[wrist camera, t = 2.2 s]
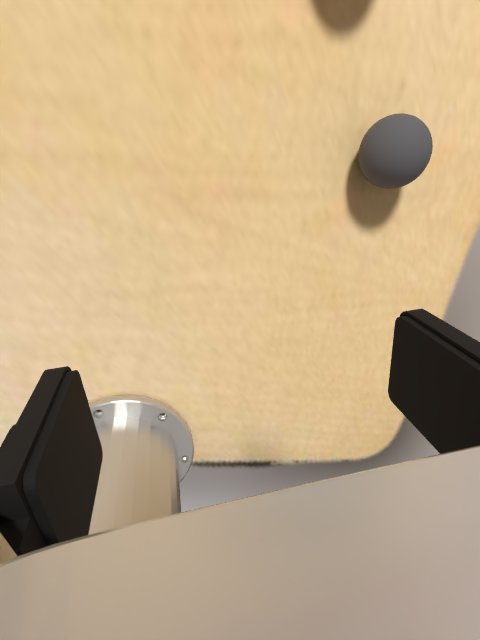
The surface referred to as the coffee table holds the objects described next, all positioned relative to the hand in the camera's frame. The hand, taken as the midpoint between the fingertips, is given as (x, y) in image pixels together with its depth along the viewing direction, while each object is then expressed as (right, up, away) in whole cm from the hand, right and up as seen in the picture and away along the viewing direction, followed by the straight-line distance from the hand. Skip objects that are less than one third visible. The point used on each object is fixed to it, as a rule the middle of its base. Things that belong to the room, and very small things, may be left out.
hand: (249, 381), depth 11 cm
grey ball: (+11, +14, +17) cm, 24 cm away
